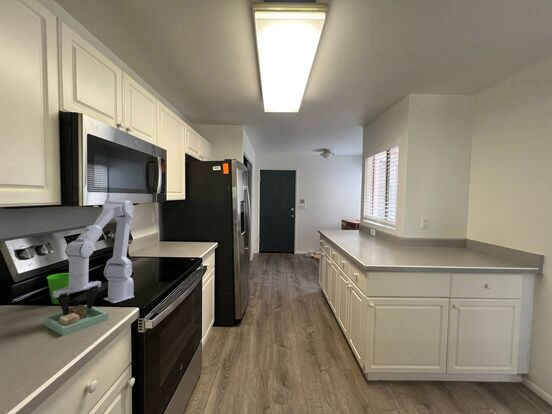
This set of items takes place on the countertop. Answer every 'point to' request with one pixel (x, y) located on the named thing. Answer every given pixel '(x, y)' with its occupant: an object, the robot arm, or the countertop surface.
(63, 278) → the cup
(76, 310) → the walnut block
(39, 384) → the countertop surface
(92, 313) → the tray
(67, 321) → the beech block in tray
